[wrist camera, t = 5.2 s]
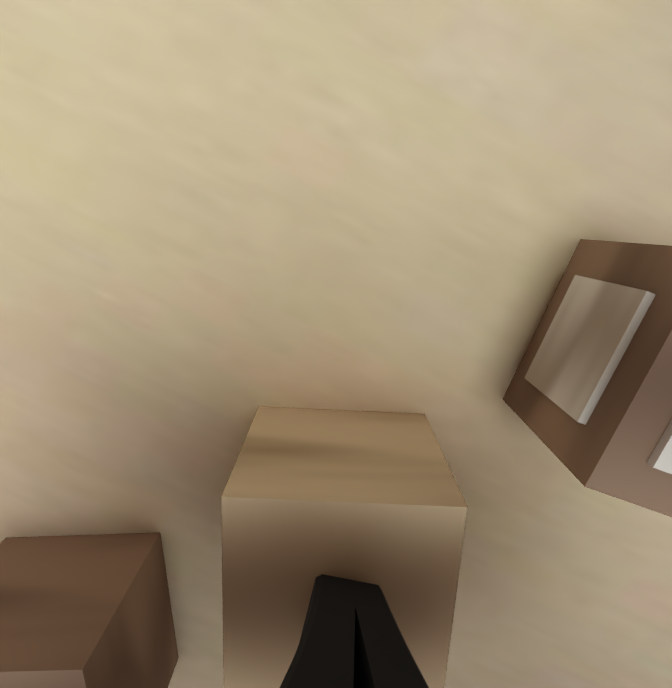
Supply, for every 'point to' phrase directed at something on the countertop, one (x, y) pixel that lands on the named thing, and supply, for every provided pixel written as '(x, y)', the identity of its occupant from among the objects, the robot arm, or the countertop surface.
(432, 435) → the oak block
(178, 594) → the countertop surface
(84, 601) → the walnut block
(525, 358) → the walnut block
